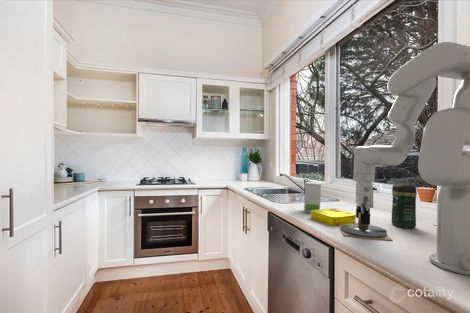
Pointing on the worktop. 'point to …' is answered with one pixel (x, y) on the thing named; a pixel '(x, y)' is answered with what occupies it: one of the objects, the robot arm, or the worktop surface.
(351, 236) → the mat
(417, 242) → the worktop surface
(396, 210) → the coffee jar
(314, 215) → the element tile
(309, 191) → the skincare box
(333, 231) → the worktop surface
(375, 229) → the lid
